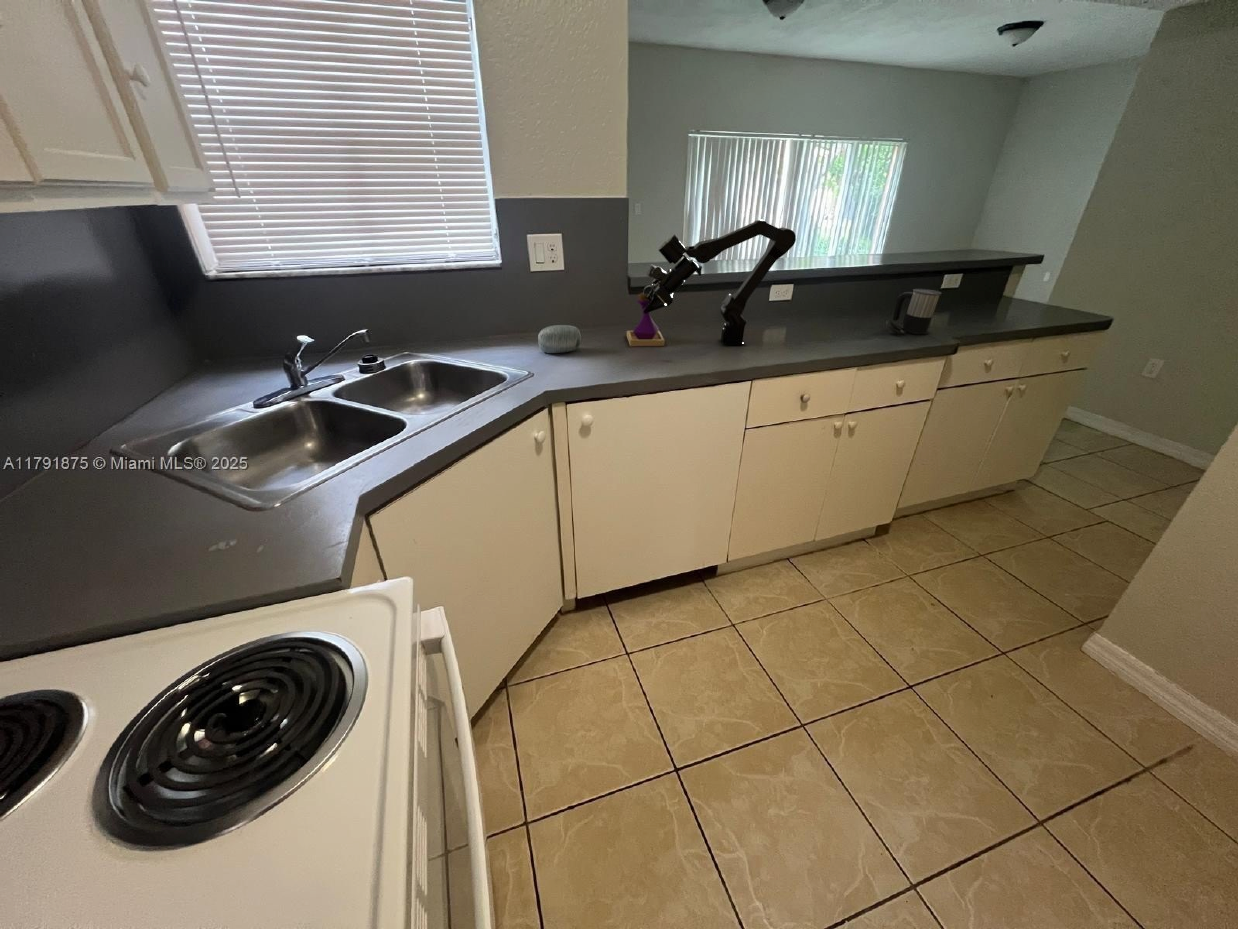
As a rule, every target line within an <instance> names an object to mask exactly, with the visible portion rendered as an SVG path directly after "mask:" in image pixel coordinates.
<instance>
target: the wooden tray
mask: <svg viewBox="0 0 1238 929" xmlns="http://www.w3.org/2000/svg"><path fill="white" fill-rule="evenodd" d="M633 331H634V330H626V338H627V341H628V344H629V347H665V342H666V341H665V338H664V337H663V335H662V333H661V331H660V330H658V331H657V333H656V334H655V336H654V337H653V339H652V340H638V339H637V337H636V336H635V334H634V333H633Z"/></svg>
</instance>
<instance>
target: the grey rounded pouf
mask: <svg viewBox="0 0 1238 929" xmlns="http://www.w3.org/2000/svg"><path fill="white" fill-rule="evenodd" d="M581 336H582V335H581V331H580V329H579V328H578V327H577V326H574V325H569V324H568V325H566V324H557V325H549V326H545V327H544V328H542V329H541V330H540V331H539V332H538V336H537V343H538V347H539V349H540V350H541V351H542V352H543V353H546V354H547V353H548V354H560V353H569V352H575V351H577V350H578V349H579V347H580V345H581V341H582V337H581Z"/></svg>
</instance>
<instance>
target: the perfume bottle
mask: <svg viewBox="0 0 1238 929" xmlns="http://www.w3.org/2000/svg"><path fill="white" fill-rule="evenodd" d="M651 287H652V289H653V290H654V291H655V289H654V287H653V286H652V285H651V284H649V285H646V286H645V287H644V289H643V292H640V293H639V294H638V299H637V300H636V302H637V303H638V304H639V305H640V307H641V312H642V317H641V319H640V322H639V323H638V325H636V327H635V328H634V330H632V331H633V333H634V334H635V336H636V337H637V339H638V340H652V339H653V337H654V336H655V334H656V333H657V331H659V329H660V328H659V327H658V325H657V324H656V323H655V321H654V320H653V319H652V318H653V317H652V316H651V314H650V312H648V313H646V314H645V313H644V312H643V310H644V309H645V308H646V306H647V303H648V302H649V300H648V299H647V296H648V295H647V293H645V290H646V289H647V288H651Z"/></svg>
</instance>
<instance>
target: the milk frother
mask: <svg viewBox="0 0 1238 929" xmlns="http://www.w3.org/2000/svg"><path fill="white" fill-rule="evenodd" d="M912 290H913V291H905V292H903V293H901V294H900V295H899V296H898V297H897V298H896V301H895V305H894V308H893V314H892V321H898V320H899V319H900V317H901V314H902V310H903V306H904V302H905V300H906V299H909V302H908V305H907V308H906V310H905V314H904V316H903V320H902V322H901V325H902V326H900V325H898V324H896V323H894V322H892V321H886V327H887V328H888V329H889V330H891V331H892V332H893V333H894V335H898V334H899V335H905V334H906V333H908V334H916V335H927V334H928V330H929V328H930V324H931V321H932V318H933V315H934V312H935V310H936V307H937V304H938V301H939V298H940V296H941V295H942V292H941V291H938V290H934V289H927V288H914V289H912Z"/></svg>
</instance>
